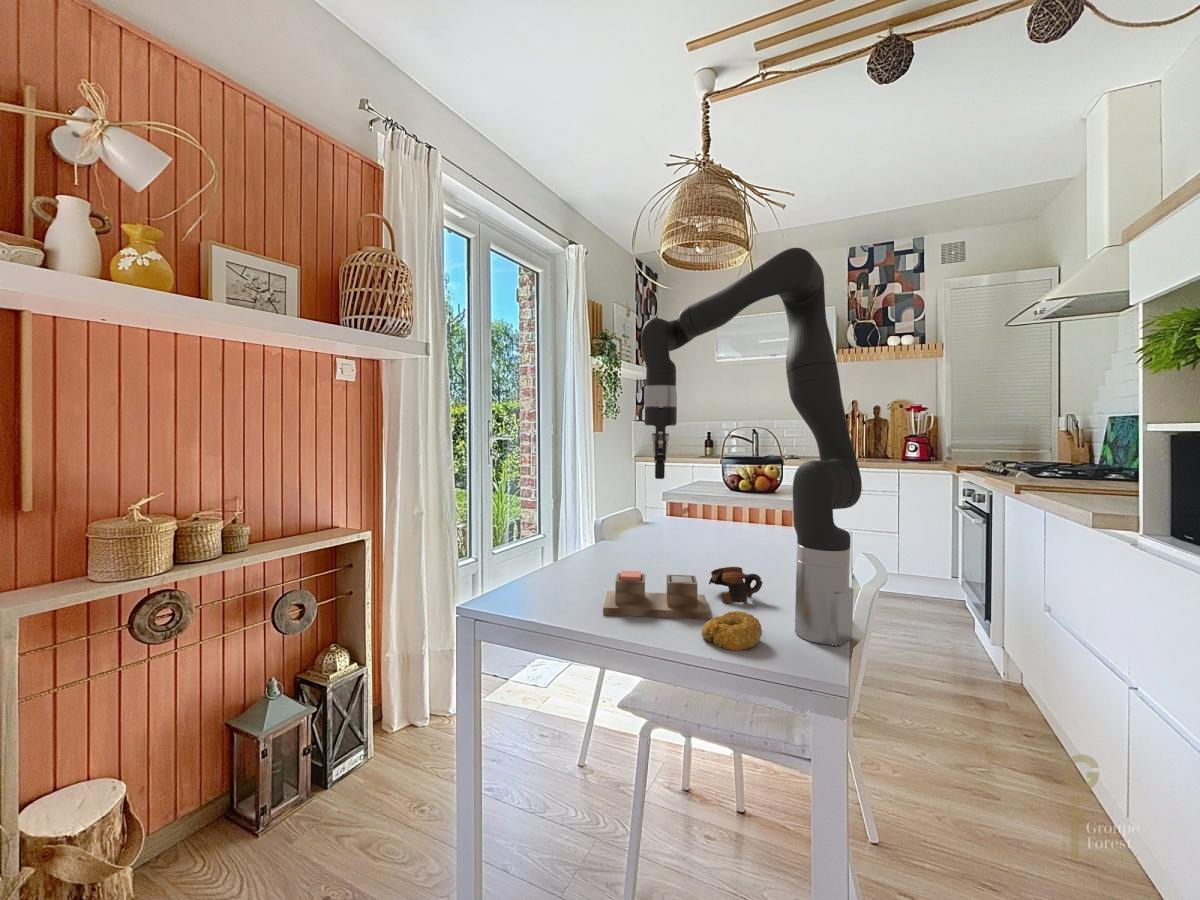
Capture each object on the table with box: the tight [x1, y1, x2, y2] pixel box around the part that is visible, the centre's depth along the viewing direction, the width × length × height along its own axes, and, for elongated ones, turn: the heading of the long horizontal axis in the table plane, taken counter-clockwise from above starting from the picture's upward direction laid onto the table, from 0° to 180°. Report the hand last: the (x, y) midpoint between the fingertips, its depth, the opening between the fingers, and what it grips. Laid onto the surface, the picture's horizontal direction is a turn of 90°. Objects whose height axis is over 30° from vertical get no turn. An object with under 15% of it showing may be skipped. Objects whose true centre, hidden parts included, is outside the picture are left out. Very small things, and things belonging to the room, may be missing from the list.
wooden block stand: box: [602, 572, 711, 620], centre depth 113 cm, size 22×11×6 cm, turn 84°
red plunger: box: [620, 570, 642, 581], centre depth 114 cm, size 4×4×5 cm
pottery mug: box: [708, 566, 764, 604], centre depth 121 cm, size 12×10×8 cm
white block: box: [671, 576, 693, 583], centre depth 113 cm, size 4×4×5 cm
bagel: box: [700, 610, 763, 651], centre depth 97 cm, size 10×11×5 cm
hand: (659, 478), depth 124 cm, fingers closed
